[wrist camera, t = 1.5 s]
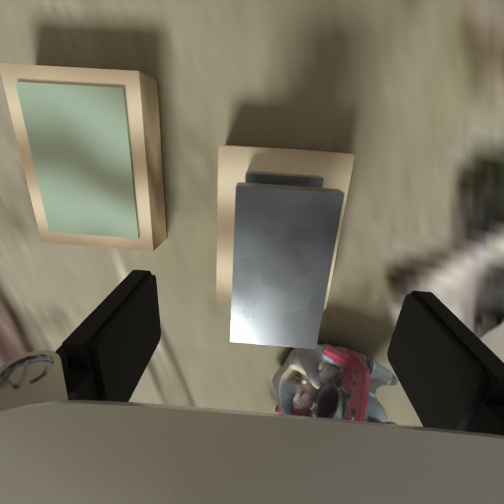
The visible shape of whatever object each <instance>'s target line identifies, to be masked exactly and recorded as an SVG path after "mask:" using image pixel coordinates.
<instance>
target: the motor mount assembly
mask: <svg viewBox="0 0 504 504" xmlns="http://www.w3.org/2000/svg"><path fill="white" fill-rule="evenodd" d="M272 383H273V389H274V392H275V396H276V399H277V402H278V405H277V406H276V408H275V412H276V413H277V414H283V415H295V416H307V417H318V418H329V419H341V420H352V421H363V422H374V423H385V424H396V423H394V422H391V421H390V422H387V415H386V412H385V410H384V408H383V407H382V405H381V404H380V402H379V401H378V400H377V398H376V389H377V388H378V387H380V386H381V385H391V386H393V385H396V384H397V383H398V380H397V378H396V377H395V376H394V375H393V374H392V373H391V371H390V370H388V369H387V368H385V367H383V366H382V365H380V364H379V363H377V362H375V361H374V360H372V359H370V358H368V357H366V356H364V355H362V354H360V353H358V352H356V351H353V350H351V349H349V348H346V347H344V346H338V347H334V346H332V345H330V344H324V345H323V344H320V343H317V346H316V349H305V348H293V350H292V351H291V352H290V354H289V356H288V358H287V359H286V361H285V363H284V364H283V365H282V366H281V368H280V369H279V370H278V371H277V372H276V374H275V376H274V378H273V380H272ZM396 425H397V424H396Z"/></svg>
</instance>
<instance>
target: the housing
mask: <svg viewBox="0 0 504 504" xmlns="http://www.w3.org/2000/svg"><path fill="white" fill-rule="evenodd" d="M323 181H324V178H323V177H322V176H316V175H301V174H286V173H272V172H257V171H247V172H246V176H245V183H244V182H238V184H237V185H236V194H235V221H234V248H233V276H232V303H231V331H230V342H239V343H250V344H261V345H272V346H283V347H294V348H305V349H316V346H317V341H318V335H319V330H320V325H321V319H322V314H323V308H324V303H325V297H326V292H327V287H328V281H329V276H330V270H331V265H332V259H333V254H334V248H335V243H336V238H337V232H338V227H339V221H340V216H341V210H342V205H343V200H344V194H345V193H343V192H342V191H341V190H339V189H330V188H322V187H323Z"/></svg>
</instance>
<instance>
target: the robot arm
mask: <svg viewBox="0 0 504 504" xmlns="http://www.w3.org/2000/svg"><path fill="white" fill-rule="evenodd" d="M160 337H161V328H160V317H159V306H158V295H157V283H156V277H155V275H152V274H151V272H150V271H144V270H133V271H132V272H131V273H130V274H129V275H128V276H127V277H126V278H125V279H124V280H123V281H122V282H121V283H120V284H119V285H118V286H117V287H116V288H115V289H114V290H113V291H112V292H111V293H110V294H109V295H108V296H107V297H106V299H105V300H104V301H103V302H102V303H101V304H100V305H99V306H98V307H97V308H96V309H95V310H94V311H93V312H92V313H91V314H90V315H89V316H88V317H87V318H86V319H85V320H84V321H83V322H82V323H81V324H80V325H79V326H78V327H77V328H76V329H75V330H74V331H73V332H72V333H71V334H70V336H69V337H68V338H67V339H66V340H65V341H64V342H63V343H62V345H61V346H60V347H59V348H58V349H57V350H56V352H54V351H48V350H40V351H33V352H29V353H26V354H23V355H21V356H18V357H16V358H14V359H12V360H11V361H9V362H7V363H6V364H4V365H3V366H2V367H1V368H0V504H504V363H503V362H502V361H501V360H500V359H499V358H498V357H497V356H496V355H495V354H494V353H493V352H492V351H491V350H490V349H489V348H488V347H487V346H486V345H485V344H484V343H482V341H481V340H480V339H479V338H478V337H477V336H476V335H475V334H474V333H473V332H472V331H470V330H469V329H468V328H467V327H466V326H465V325H464V324H463V323H462V322H461V321H460V320H459V319H458V318H457V317H456V316H455V315H454V314H453V313H452V312H451V311H450V310H449V309H448V308H447V307H446V306H445V305H444V304H443V303H442V302H441V301H440V300H439V299H438V298H437V297H436V296H435V295H434V294H433V293H431V292H422V291H412V292H411V293H410V294H408V295H406V297H405V299H404V302H403V305H402V308H401V311H400V314H399V318H398V321H397V324H396V327H395V330H394V333H393V336H392V339H391V342H390V345H389V348H388V353H387V355H388V360H389V362H390V364H391V366H392V368H393V370H394V372H395V374H396V375H397V377H398V379H399V381H400V383H401V385H402V387H403V389H404V391H405V392H406V394H407V396H408V398H409V400H410V402H411V404H412V406H413V407H414V409H415V411H416V413H417V415H418V417H419V419H420V421H421V423H422V424H423V426H424V427H417V426H406V425H396V424H385V423H374V422H363V421H352V420H341V419H329V418H318V417H307V416H295V415H283V414H272V413H260V412H248V411H236V410H224V409H211V408H199V407H187V406H174V405H162V404H147V403H133V402H128V401H129V399H130V397H131V396H132V394H133V392H134V390H135V388H136V386H137V384H138V382H139V380H140V378H141V376H142V374H143V372H144V370H145V368H146V366H147V365H148V363H149V361H150V359H151V357H152V355H153V353H154V351H155V349H156V347H157V345H158V343H159V341H160Z"/></svg>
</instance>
